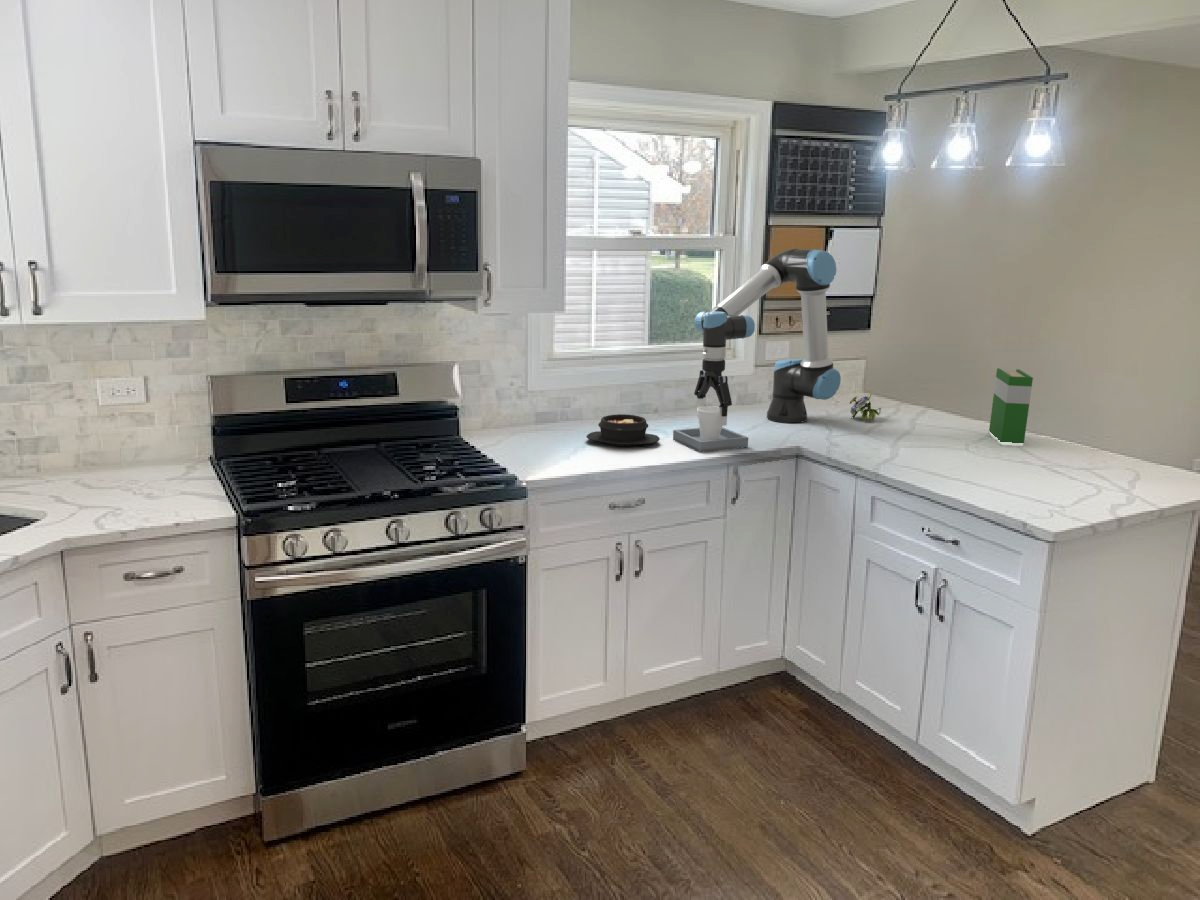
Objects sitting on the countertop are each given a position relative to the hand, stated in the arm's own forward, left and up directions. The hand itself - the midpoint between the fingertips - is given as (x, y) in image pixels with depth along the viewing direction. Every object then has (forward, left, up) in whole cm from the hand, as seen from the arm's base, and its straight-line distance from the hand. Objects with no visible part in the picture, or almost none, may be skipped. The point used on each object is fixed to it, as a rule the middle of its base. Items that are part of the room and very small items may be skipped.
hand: (711, 421), depth 303 cm
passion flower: (-76, -12, -8) cm, 77 cm away
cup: (0, 0, -7) cm, 7 cm away
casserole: (+27, -12, -8) cm, 31 cm away
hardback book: (-101, +33, -8) cm, 106 cm away
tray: (0, 0, -8) cm, 8 cm away
